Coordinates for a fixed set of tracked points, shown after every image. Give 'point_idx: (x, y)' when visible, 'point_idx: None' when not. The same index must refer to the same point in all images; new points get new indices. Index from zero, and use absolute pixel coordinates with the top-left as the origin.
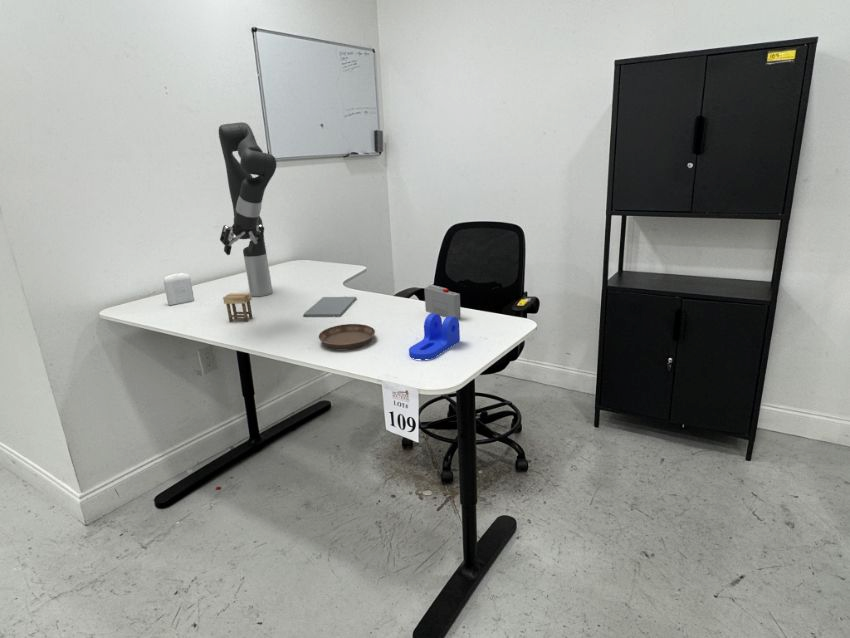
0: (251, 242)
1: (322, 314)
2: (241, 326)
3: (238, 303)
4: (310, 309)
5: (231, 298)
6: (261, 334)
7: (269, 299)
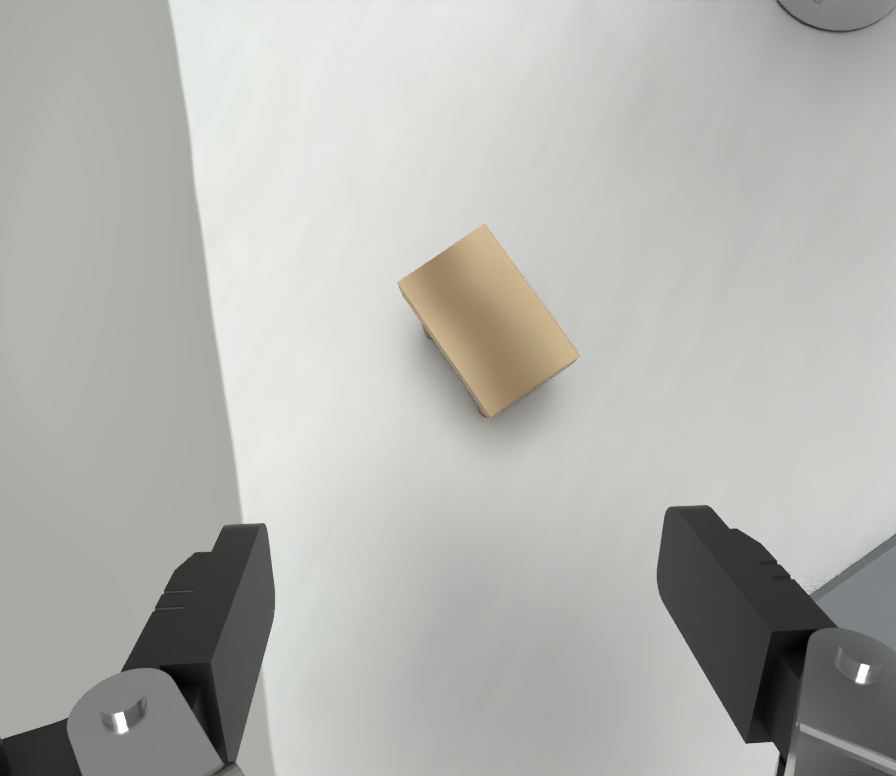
0: (760, 689)
1: None
2: (423, 467)
3: (462, 381)
4: (843, 598)
5: (435, 336)
6: (419, 700)
7: (805, 123)
